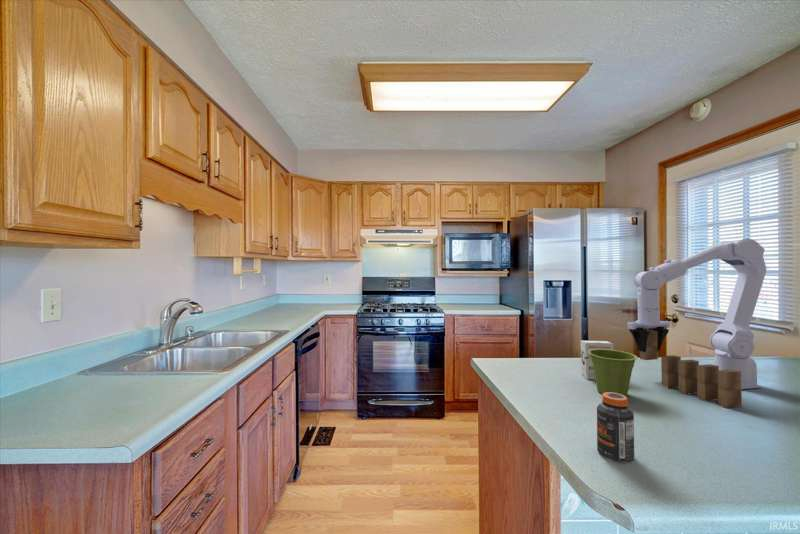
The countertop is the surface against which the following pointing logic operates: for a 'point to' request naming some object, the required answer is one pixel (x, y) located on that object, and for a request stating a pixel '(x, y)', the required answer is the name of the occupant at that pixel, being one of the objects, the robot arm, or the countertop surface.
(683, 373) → the domino
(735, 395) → the domino
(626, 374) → the plant pot
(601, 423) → the pill bottle
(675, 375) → the domino
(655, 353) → the domino
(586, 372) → the ink box
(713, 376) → the domino
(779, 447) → the countertop surface
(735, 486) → the countertop surface
